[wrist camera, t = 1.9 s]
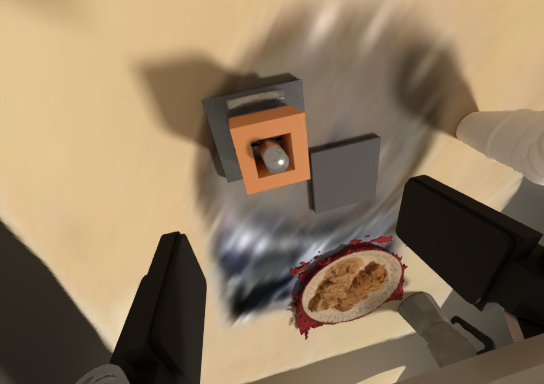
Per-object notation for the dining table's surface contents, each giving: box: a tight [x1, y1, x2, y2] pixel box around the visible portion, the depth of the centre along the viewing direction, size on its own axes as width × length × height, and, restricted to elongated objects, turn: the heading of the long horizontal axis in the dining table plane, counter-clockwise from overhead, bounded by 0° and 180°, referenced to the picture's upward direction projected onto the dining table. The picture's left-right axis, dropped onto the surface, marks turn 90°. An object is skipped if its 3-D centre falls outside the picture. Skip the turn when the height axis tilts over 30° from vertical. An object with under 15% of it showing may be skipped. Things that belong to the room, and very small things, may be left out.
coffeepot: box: [399, 292, 497, 368], centre depth 48 cm, size 15×9×18 cm, turn 168°
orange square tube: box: [229, 105, 310, 194], centre depth 21 cm, size 6×6×4 cm
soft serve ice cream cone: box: [456, 109, 544, 185], centre depth 26 cm, size 8×8×16 cm
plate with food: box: [290, 235, 407, 340], centre depth 45 cm, size 24×26×4 cm
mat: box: [309, 136, 381, 213], centre depth 32 cm, size 10×10×1 cm
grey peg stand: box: [202, 79, 305, 183], centre depth 23 cm, size 11×10×10 cm
